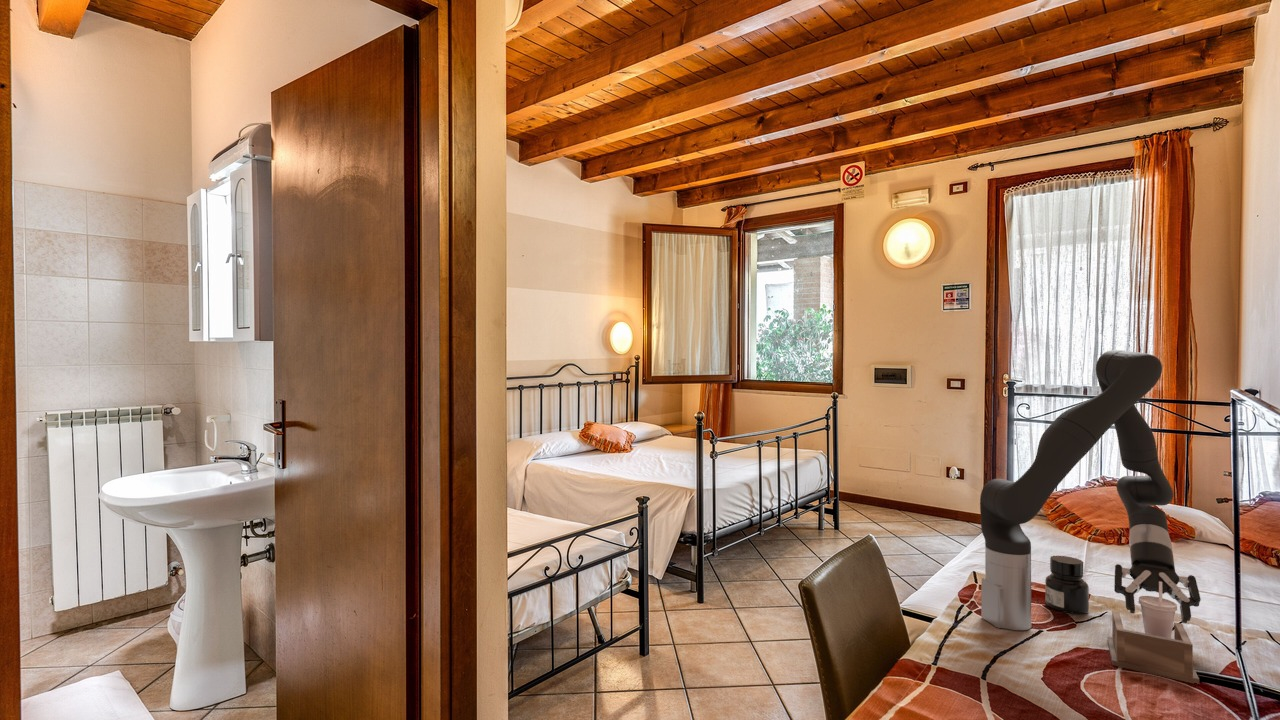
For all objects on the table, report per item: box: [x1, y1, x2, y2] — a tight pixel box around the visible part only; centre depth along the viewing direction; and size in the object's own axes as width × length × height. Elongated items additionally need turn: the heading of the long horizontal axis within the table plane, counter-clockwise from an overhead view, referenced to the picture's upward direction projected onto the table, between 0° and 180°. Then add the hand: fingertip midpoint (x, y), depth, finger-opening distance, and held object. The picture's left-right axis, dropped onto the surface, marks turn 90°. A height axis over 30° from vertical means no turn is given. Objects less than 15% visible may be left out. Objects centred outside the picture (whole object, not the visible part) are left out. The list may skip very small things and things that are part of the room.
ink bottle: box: [1044, 555, 1090, 615], centre depth 150 cm, size 10×9×12 cm
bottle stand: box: [1107, 610, 1200, 685], centre depth 123 cm, size 13×13×7 cm
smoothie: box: [1137, 581, 1178, 639], centre depth 130 cm, size 6×6×14 cm
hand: (1158, 616), depth 129 cm, fingers open, 8 cm apart
